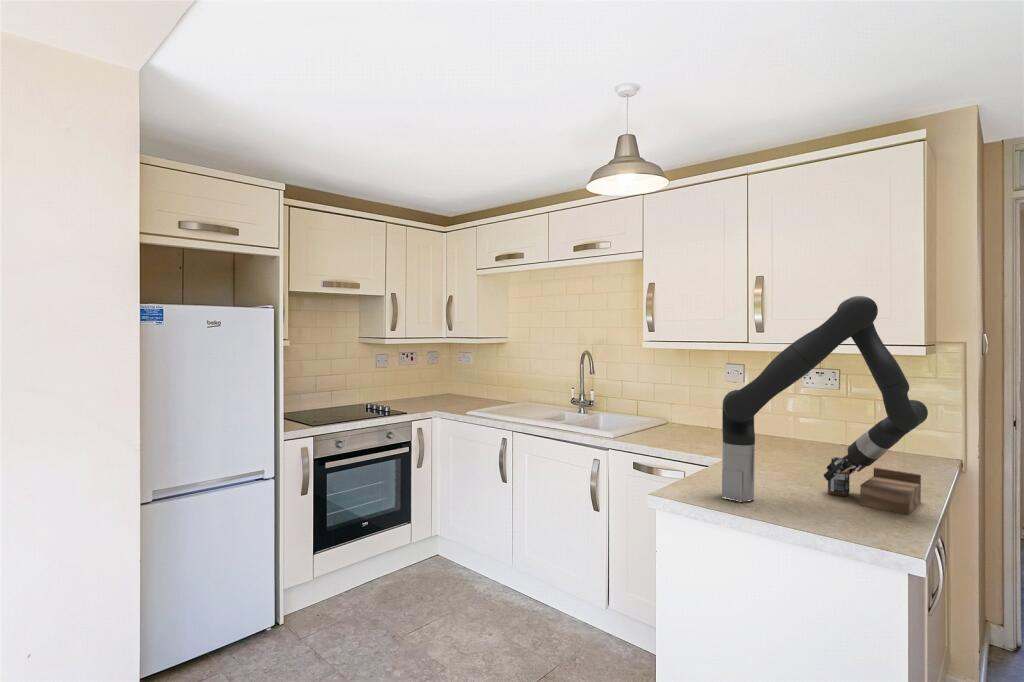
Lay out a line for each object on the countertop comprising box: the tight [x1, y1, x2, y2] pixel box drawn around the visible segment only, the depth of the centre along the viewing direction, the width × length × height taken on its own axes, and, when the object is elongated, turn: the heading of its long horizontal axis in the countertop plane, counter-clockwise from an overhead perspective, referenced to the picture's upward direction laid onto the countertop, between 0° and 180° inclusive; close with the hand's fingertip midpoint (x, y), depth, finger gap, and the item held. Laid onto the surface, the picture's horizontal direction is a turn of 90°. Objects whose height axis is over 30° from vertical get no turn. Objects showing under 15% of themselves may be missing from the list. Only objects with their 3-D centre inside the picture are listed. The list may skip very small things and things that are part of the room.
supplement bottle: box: [827, 456, 851, 497], centre depth 176 cm, size 6×6×11 cm
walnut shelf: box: [859, 467, 922, 516], centre depth 165 cm, size 16×12×8 cm
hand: (833, 477), depth 177 cm, fingers closed on supplement bottle, 6 cm apart
